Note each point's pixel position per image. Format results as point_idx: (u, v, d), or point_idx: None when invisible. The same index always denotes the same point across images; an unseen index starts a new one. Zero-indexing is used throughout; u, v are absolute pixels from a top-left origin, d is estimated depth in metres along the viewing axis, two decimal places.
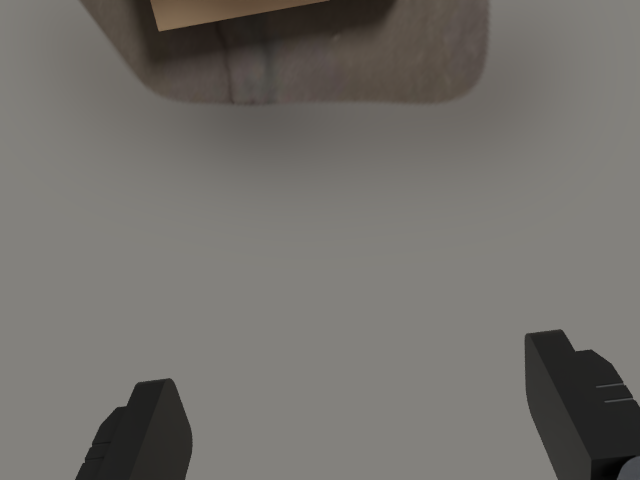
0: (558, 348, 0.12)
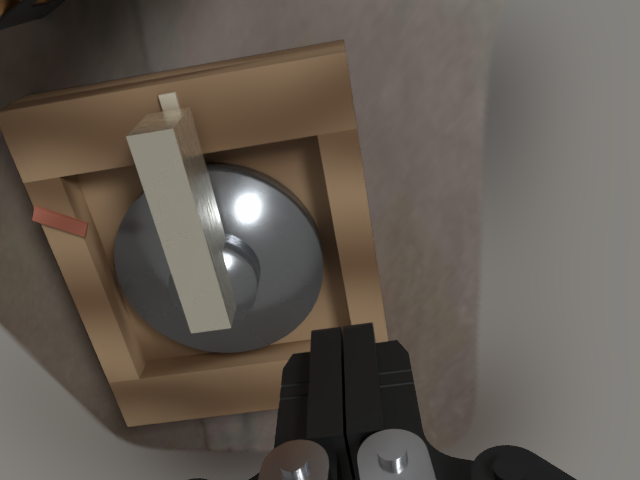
0: (361, 339, 0.13)
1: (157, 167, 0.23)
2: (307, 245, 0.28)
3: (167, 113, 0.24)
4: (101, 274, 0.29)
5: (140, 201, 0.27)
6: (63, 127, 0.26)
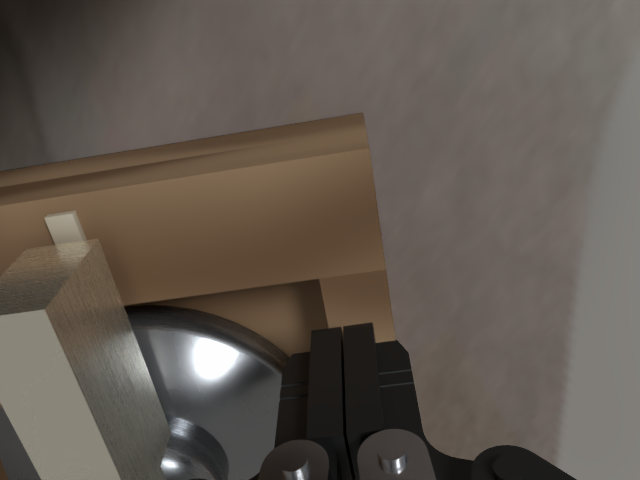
0: (361, 339, 0.13)
1: (22, 371, 0.12)
2: None
3: (56, 253, 0.14)
4: None
5: None
6: None
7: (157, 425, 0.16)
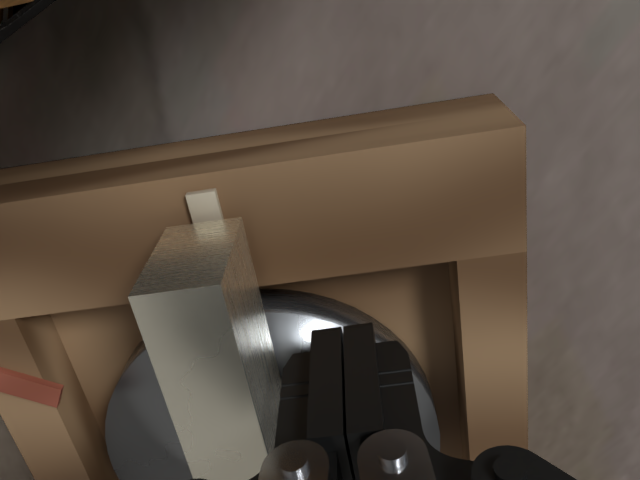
0: (361, 339, 0.13)
1: (187, 349, 0.12)
2: None
3: (202, 231, 0.14)
4: (85, 453, 0.19)
5: None
6: (19, 243, 0.15)
7: None
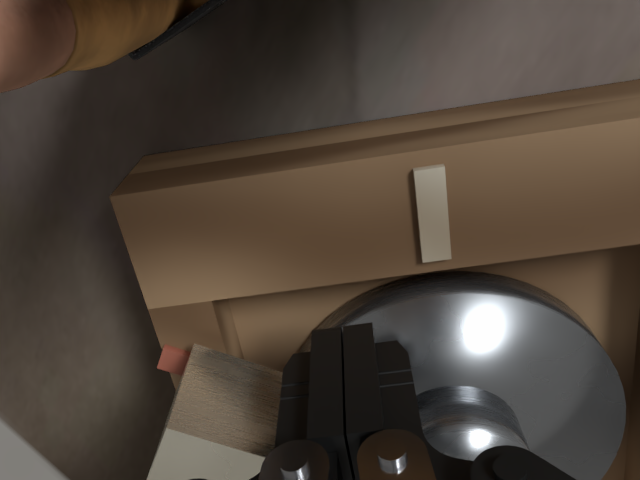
0: (361, 339, 0.13)
1: (213, 476, 0.13)
2: (509, 316, 0.16)
3: (181, 379, 0.15)
4: None
5: None
6: (230, 221, 0.15)
7: None
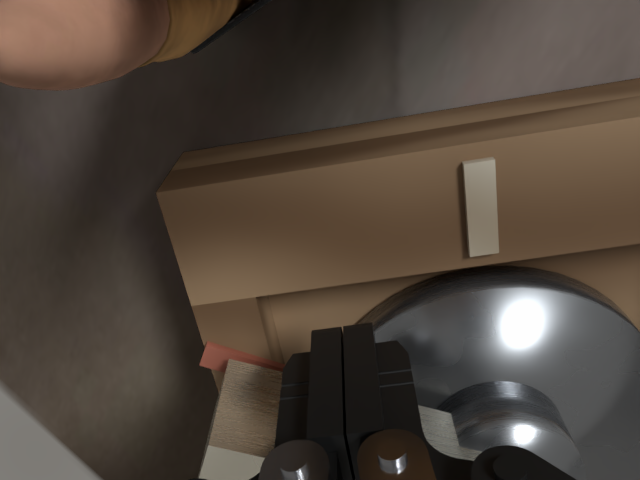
0: (361, 339, 0.13)
1: None
2: (541, 308, 0.16)
3: (219, 394, 0.16)
4: None
5: None
6: (276, 217, 0.14)
7: (425, 421, 0.16)
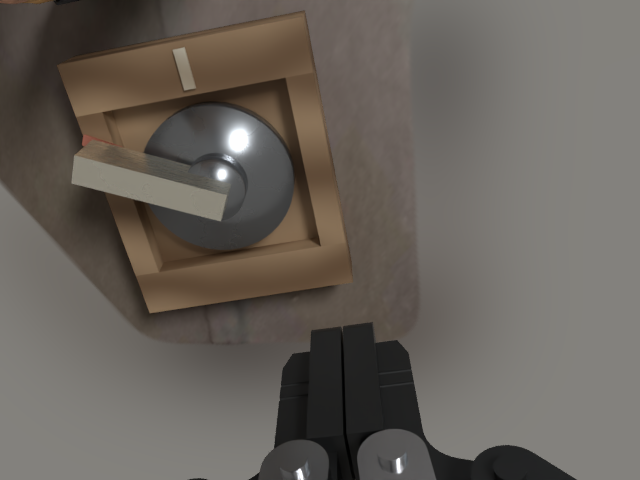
0: (361, 338, 0.13)
1: (96, 177, 0.35)
2: (222, 115, 0.37)
3: None
4: None
5: None
6: (105, 74, 0.36)
7: (175, 165, 0.38)
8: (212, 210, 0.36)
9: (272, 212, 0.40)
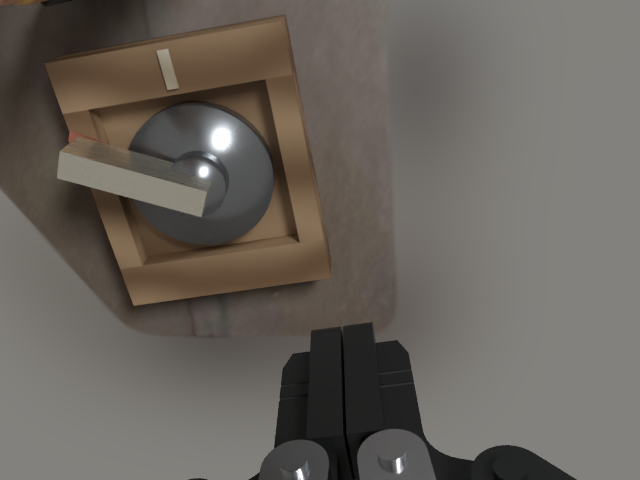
0: (361, 339, 0.13)
1: (80, 172, 0.37)
2: (204, 114, 0.39)
3: None
4: None
5: None
6: (91, 73, 0.37)
7: (158, 162, 0.39)
8: (193, 206, 0.38)
9: (252, 209, 0.42)
